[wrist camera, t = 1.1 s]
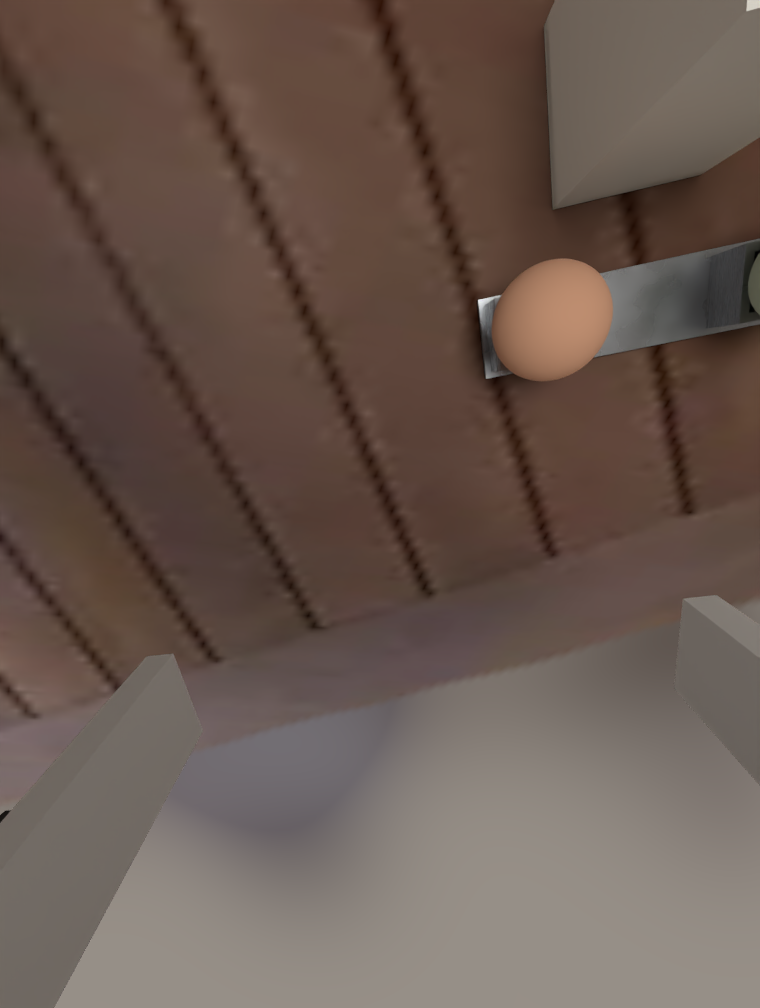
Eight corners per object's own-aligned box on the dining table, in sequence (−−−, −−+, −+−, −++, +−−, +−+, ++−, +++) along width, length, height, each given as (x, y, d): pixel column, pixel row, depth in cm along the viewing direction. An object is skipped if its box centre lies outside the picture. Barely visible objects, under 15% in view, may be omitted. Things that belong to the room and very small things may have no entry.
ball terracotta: (476, 286, 23) (502, 258, 18) (578, 263, 23) (640, 227, 17) (486, 388, 25) (513, 393, 20) (581, 370, 25) (638, 369, 19)
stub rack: (476, 301, 26) (486, 292, 23) (784, 234, 24) (836, 215, 21) (485, 378, 27) (495, 379, 25) (774, 320, 26) (822, 314, 23)
